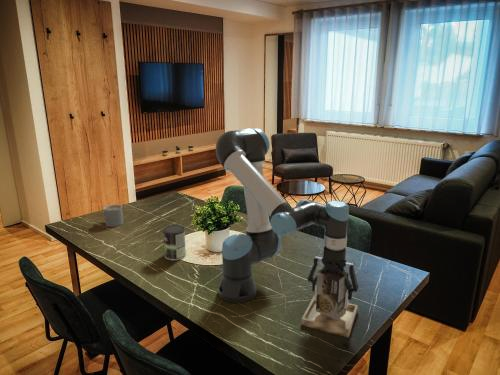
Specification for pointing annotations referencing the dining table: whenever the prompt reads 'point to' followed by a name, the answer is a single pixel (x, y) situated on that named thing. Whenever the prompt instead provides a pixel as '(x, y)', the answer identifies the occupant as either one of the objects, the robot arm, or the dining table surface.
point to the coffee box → (331, 294)
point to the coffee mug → (113, 215)
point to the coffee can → (174, 242)
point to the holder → (330, 320)
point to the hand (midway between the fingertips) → (331, 302)
